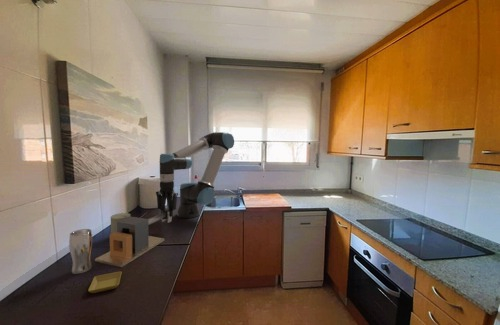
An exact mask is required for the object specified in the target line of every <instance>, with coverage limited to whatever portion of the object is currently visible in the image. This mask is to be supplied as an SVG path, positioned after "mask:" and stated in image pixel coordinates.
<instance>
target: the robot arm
mask: <svg viewBox="0 0 500 325" xmlns="http://www.w3.org/2000/svg"><path fill="white" fill-rule="evenodd" d="M234 138H235V137H234V135H233V134H232V133H231V132H229V131H228V132H226V131H224V132H222V131H221V132H219V131H218V132H217V131H216V132H215V131H214V132H210V133H208V134H206V135H204V136H201V137H200V138H199V139H198V140H197V141H195V142H193V143H191V144H189V145H187V146H185V147H183V148H181V149H179V150H177V151H174V152H173V153H160V155H159V190H158V191H155V195H156V203H157V209H159V210H160V214H161V213H162V210H164V209H166V202H167V207H168V209H169V210H168V219H167V220H166V219H161V222H162V223H164V222H165V221H167V223H171V222H172V218H173V213H174V211H175V210H176V209H177V201H178V200H177V198H178V196H179V206H178V209H177V213H176V214H177V215H176V216H177V217H178V218H181V219H192V218H196V217H198V216H200V210H199V209H200V208H199V206H198V204H199V205H203V206H208V205H209V204H211V203H213V201H214V199H215V196H216V192H215V185H214V184H215V180H216V177H217V175H218V172H219V171H220V170H219V169H220V167H221V164H222V161H224V160H223V159H224V157H225V154H228V152H229V149H233V147H234V146H235V139H234ZM209 149H212V152H211V155H210V157H209V159H208V162H207V165H206V167H205V170H204V172H203V175H202V177H201V179H200V180H199V181H197V182H194V181H193V182H184V183H181V184H180V186H179V193H178V192H175V191H174V188H175V181H174V180H175V171H176V170H177V171H178V170H189V169H191V168H192V166H193V160H192V158H191V157H193V156H195V155H197V154H199V153H200V152H202V151H205V150H209Z"/></svg>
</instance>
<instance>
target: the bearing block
mask: <svg viewBox="0 0 500 325" xmlns="http://www.w3.org/2000/svg"><path fill="white" fill-rule="evenodd" d="M148 219H149V218H143V217H136V216H130V217H129V218H126V219H124V220H121V221H119V222H117V232H120V233H125V234H131V235H132V255H131V256H129V257H127V258H124V257H120V256H115V255H110V250H109V251H108V252H106V253H104V254H102V255H99V256H98V257H96V258H94V261H95V262H97V263H100V264H105V265H110V266H114V267H118V268H122V267H124V266H126V265H128V264H129V263H131V262H132V261H134V260H135V259H137V258H139V257H140V256H143V255H144V254H145V253H148V252H149V251H150V250H151V249H153V248H155V247H156V246H158V245H159V244H161V243H163V242H164V241H165V238H162V237H157V236H152V235H149V225H148ZM119 248H123V241H119Z"/></svg>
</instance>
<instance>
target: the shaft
mask: <svg viewBox="0 0 500 325" xmlns="http://www.w3.org/2000/svg"><path fill="white" fill-rule="evenodd" d="M165 208H166V207H165ZM168 210H169V208H166V209H164V210H162V213H161V212H160V213H159V214H157V215H155V216H153V217H150V218H147V219H148V226H149V225H152V224H154V223H155V222H156V223H157V222H159V221H160V220H162V219H166V221H168Z"/></svg>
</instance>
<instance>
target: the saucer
mask: <svg viewBox="0 0 500 325" xmlns="http://www.w3.org/2000/svg"><path fill="white" fill-rule="evenodd" d="M122 274H123V272H122V271H115V272H110V273H105V274H100V275H95V276H94V277H93V278H92V281H91V284H90V285H89V287H88V289H87V292H89V293H91V294H96V293H100V292H104V291H105V292H106V291H110V290H114V289H116V288H118V286H119V285H120V282H121V277H122Z"/></svg>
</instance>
